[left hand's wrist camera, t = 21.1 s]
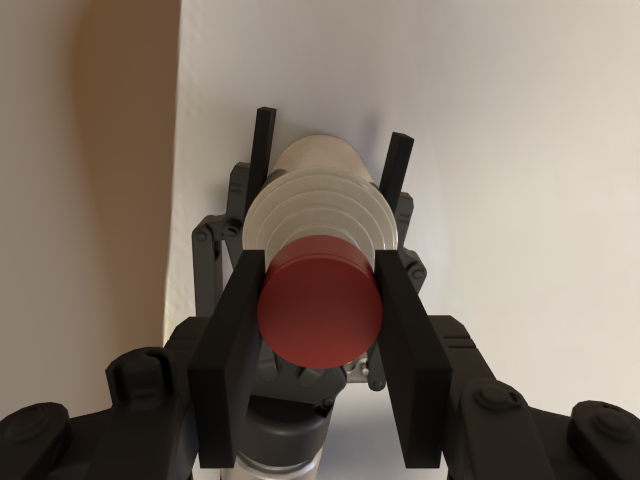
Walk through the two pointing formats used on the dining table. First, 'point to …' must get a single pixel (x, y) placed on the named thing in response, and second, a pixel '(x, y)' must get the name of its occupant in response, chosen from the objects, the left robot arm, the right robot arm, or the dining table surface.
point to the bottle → (319, 201)
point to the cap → (319, 303)
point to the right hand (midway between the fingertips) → (335, 122)
